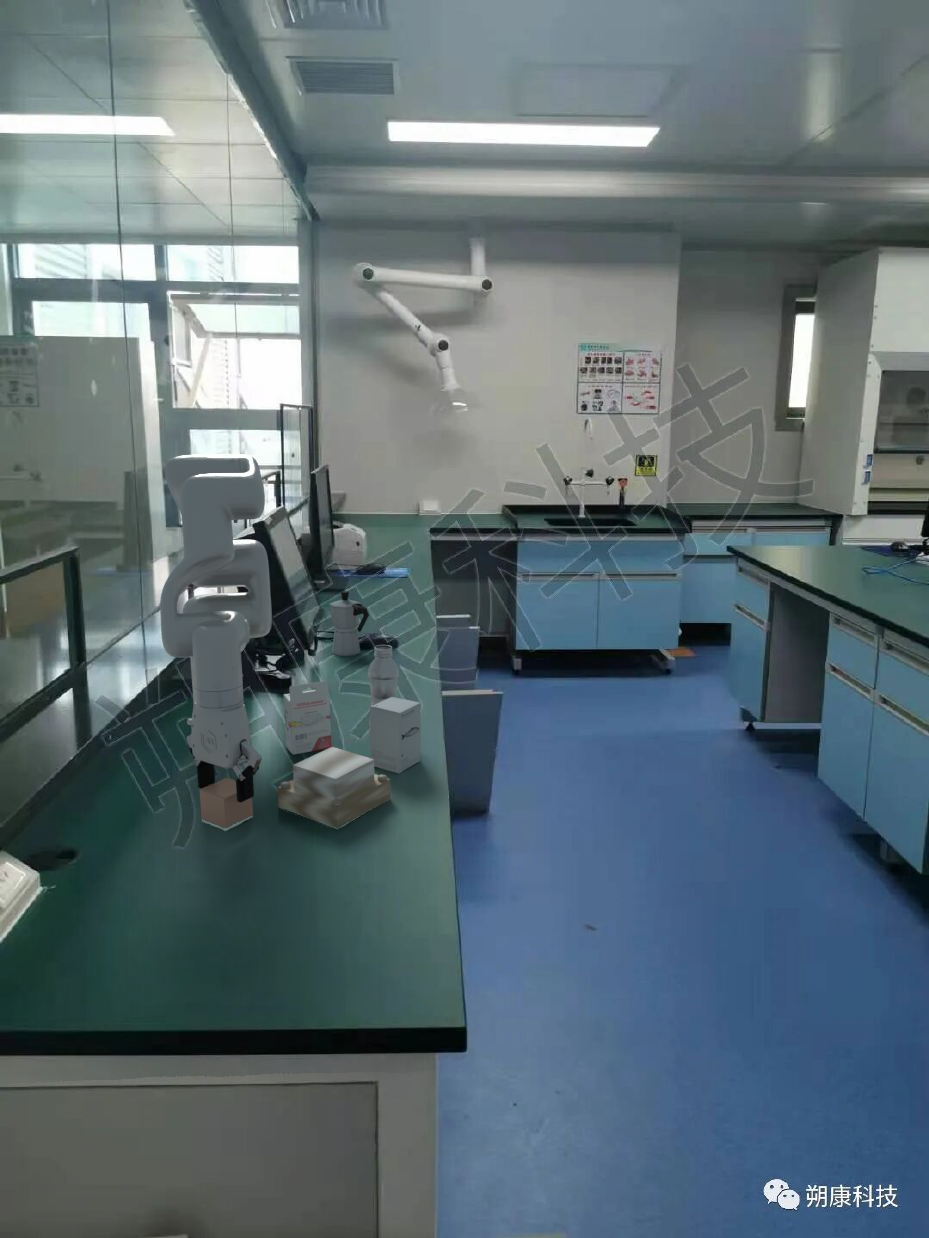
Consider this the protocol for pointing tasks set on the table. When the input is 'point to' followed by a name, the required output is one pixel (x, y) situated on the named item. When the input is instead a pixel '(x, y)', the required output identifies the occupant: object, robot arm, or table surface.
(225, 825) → the tan cube
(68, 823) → the table surface
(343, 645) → the coffee maker
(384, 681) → the plastic bottle
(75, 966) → the table surface
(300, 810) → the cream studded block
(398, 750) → the supplement box
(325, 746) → the ink cartridge box
